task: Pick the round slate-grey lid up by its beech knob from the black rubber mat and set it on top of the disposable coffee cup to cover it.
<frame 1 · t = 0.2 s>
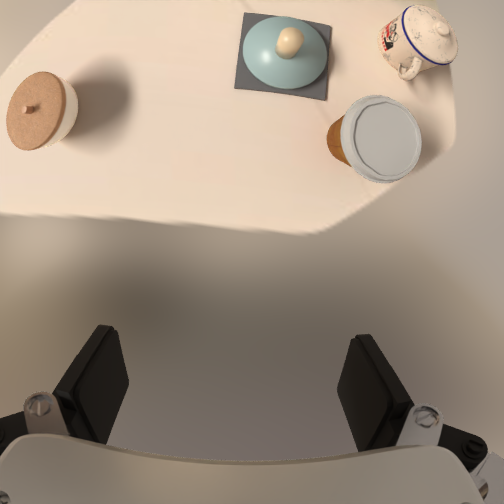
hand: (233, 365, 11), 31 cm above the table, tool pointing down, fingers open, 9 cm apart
mat: (284, 53, 33), on the table
teacup with lid: (398, 56, 33), on the table
disposable coffee cup: (347, 140, 37), on the table
cover: (284, 52, 33), resting on mat
lidded jar: (61, 113, 34), on the table
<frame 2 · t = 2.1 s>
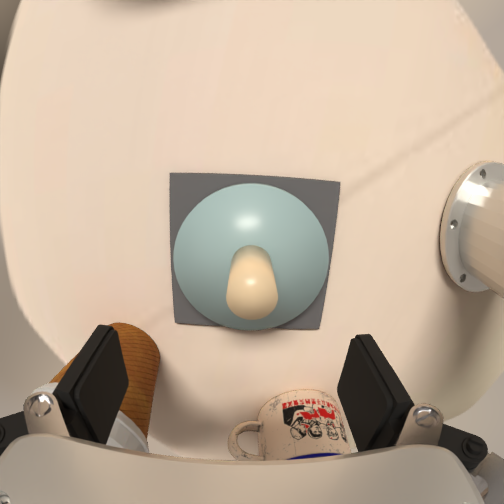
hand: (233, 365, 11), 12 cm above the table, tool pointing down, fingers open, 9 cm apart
mat: (251, 256, 22), on the table
teacup with lid: (285, 410, 28), on the table
disposable coffee cup: (129, 348, 26), on the table
cover: (251, 258, 22), resting on mat
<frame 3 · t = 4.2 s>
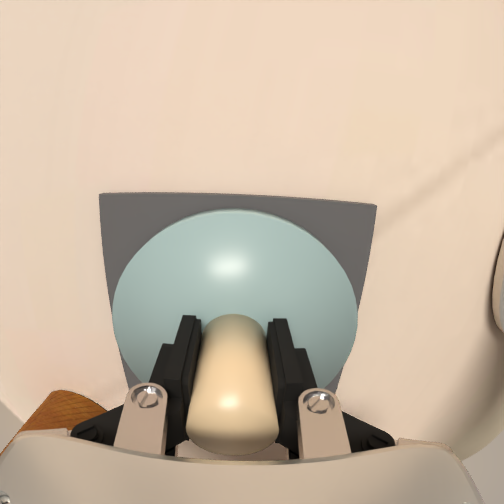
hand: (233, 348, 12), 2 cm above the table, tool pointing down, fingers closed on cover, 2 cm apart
mat: (233, 321, 14), on the table
disposable coffee cup: (84, 417, 17), on the table
cover: (234, 326, 14), resting on mat, touching gripper
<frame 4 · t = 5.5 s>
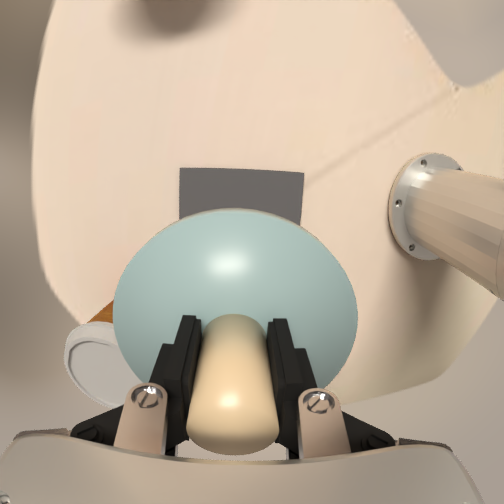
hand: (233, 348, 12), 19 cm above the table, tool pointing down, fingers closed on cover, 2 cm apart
mat: (239, 229, 30), on the table
disposable coffee cup: (142, 309, 33), on the table
cover: (234, 326, 14), point 17 cm above the table, touching gripper
when the fingers open (15 cm above the table, at t = 7.3 s): cover drops 2 cm, resting on disposable coffee cup.
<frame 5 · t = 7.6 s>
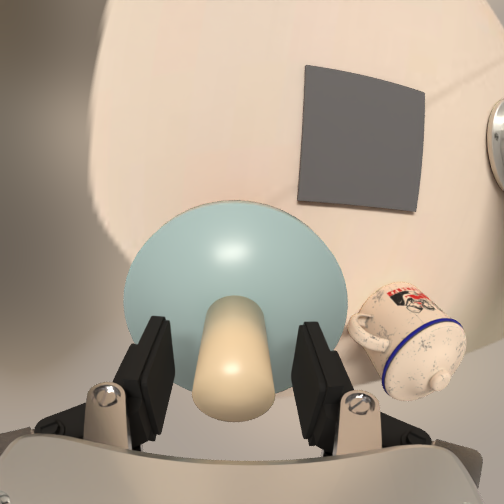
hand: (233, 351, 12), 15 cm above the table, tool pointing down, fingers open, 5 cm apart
mat: (367, 139, 24), on the table
teacup with lid: (379, 312, 30), on the table
cover: (235, 309, 15), point 12 cm above the table, touching disposable coffee cup
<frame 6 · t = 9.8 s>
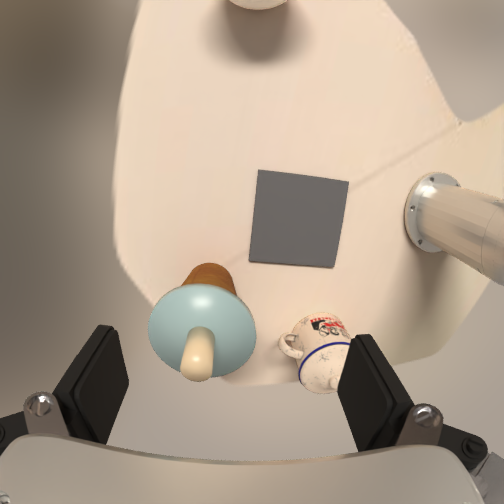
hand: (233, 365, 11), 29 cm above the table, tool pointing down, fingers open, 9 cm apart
mat: (298, 220, 39), on the table
teacup with lid: (309, 332, 45), on the table
disposable coffee cup: (210, 283, 41), on the table, touching cover
cover: (202, 331, 30), point 12 cm above the table, touching disposable coffee cup
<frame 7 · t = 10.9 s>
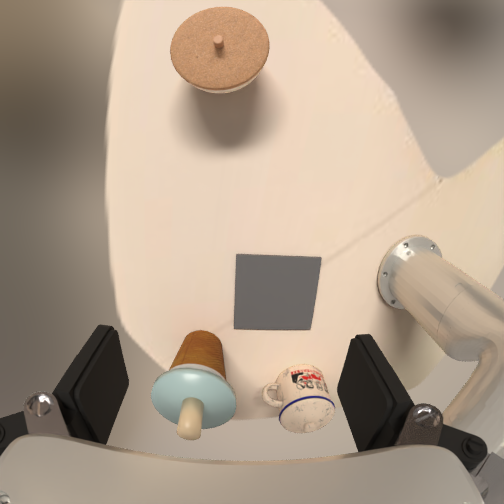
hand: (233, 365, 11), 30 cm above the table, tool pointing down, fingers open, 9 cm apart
mat: (275, 294, 44), on the table
teacup with lid: (291, 378, 50), on the table
disposable coffee cup: (202, 345, 47), on the table, touching cover
cover: (193, 397, 35), point 12 cm above the table, touching disposable coffee cup
lidded jar: (223, 64, 33), on the table
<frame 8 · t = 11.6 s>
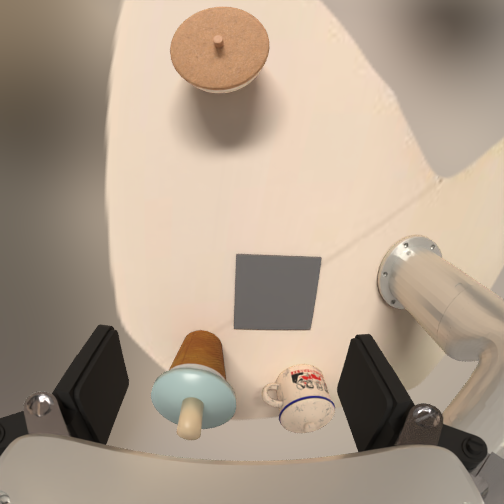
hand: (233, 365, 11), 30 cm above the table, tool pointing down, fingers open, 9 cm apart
mat: (275, 294, 44), on the table
teacup with lid: (291, 378, 50), on the table
disposable coffee cup: (202, 345, 47), on the table, touching cover
cover: (193, 397, 35), point 12 cm above the table, touching disposable coffee cup
lidded jar: (223, 64, 33), on the table
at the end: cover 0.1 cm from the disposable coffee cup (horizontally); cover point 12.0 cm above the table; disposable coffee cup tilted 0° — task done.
